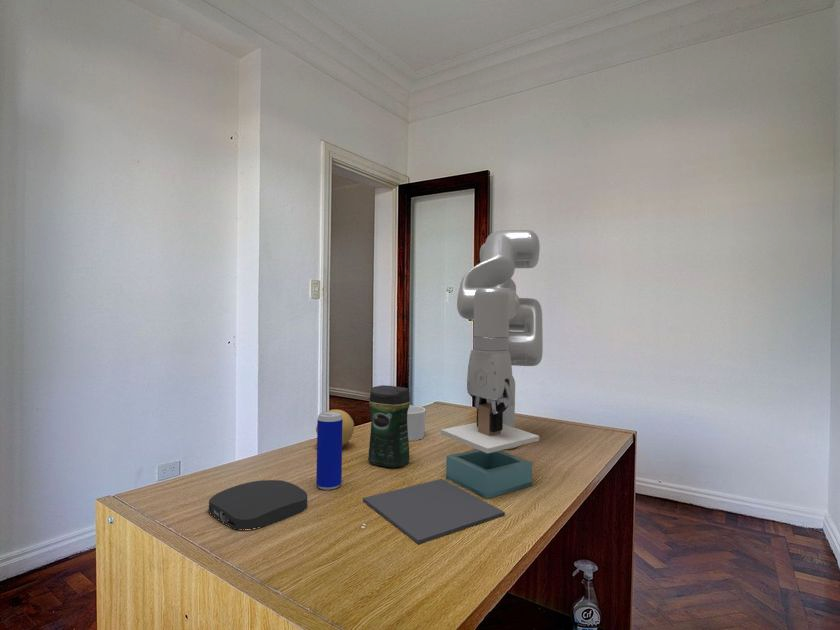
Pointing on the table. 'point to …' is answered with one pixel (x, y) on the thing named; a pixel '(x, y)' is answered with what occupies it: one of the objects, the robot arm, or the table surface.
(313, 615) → the table surface
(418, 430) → the mug
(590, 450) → the table surface
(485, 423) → the lid
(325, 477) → the beverage can
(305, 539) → the table surface
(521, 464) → the square tray
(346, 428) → the stress ball
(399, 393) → the coffee jar
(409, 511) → the mat
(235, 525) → the media streaming box
